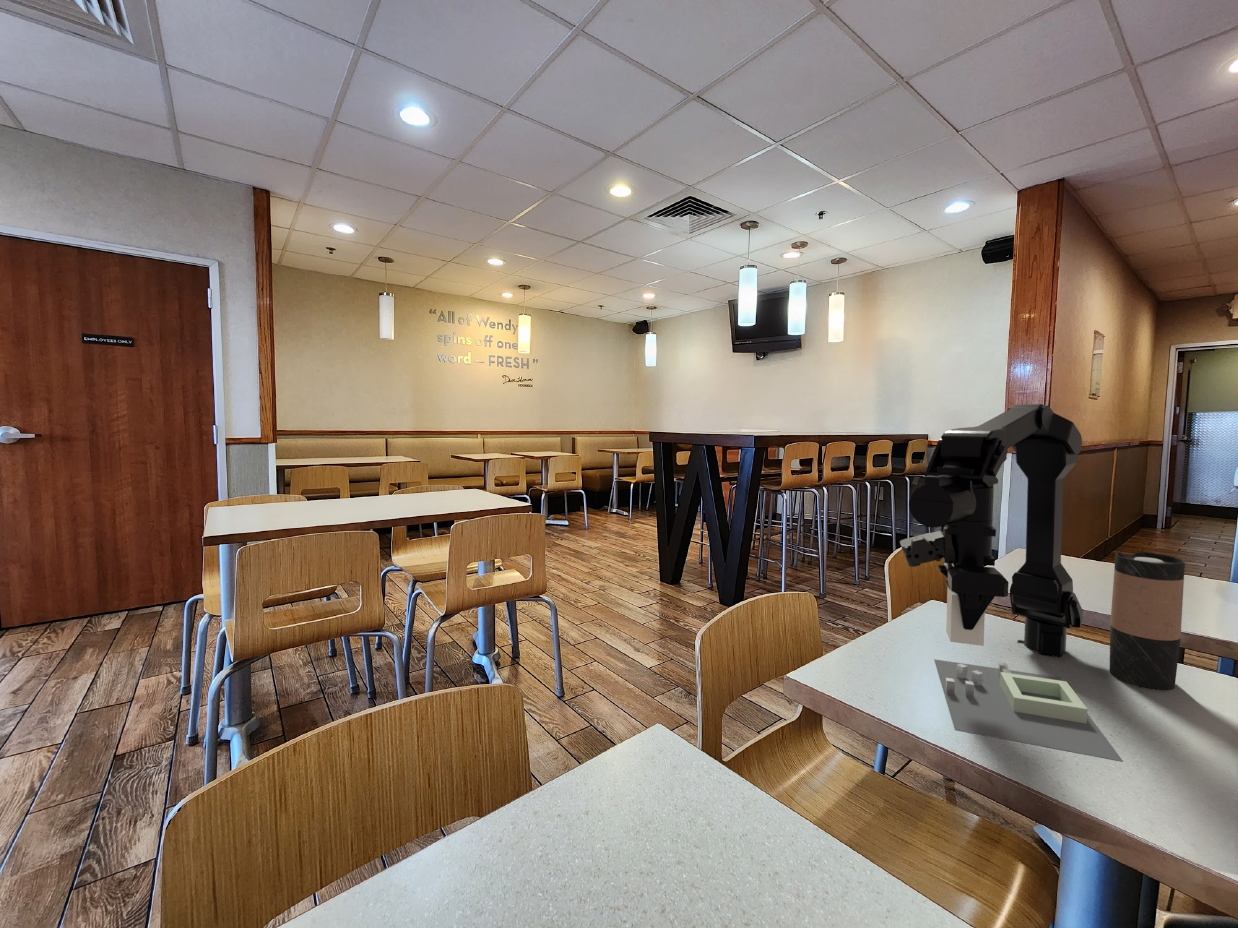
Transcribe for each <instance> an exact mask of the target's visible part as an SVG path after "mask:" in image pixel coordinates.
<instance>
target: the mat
mask: <svg viewBox="0 0 1238 928" xmlns="http://www.w3.org/2000/svg"><path fill="white" fill-rule="evenodd" d="M934 663H935V667H936V671H937V674H938V678H939V680H940V685H941V688H942V690H943V691H942V692H943V694H944V699H945V701H946V704H947V707H948V711H949V714H950V715H949V716H950V718H951V721H952V725H953V728H954V731H957V732H964V733H969V734H975V735H980V736H984V737H989V738H995V739H999V740H1005V741H1011V742H1017V743H1022V744H1027V745H1033V746H1039V747H1043V748H1047V749H1053V750H1060V751H1064V752H1070V753H1074V754H1080V755H1086V756H1092V757H1097V758H1101V759H1107V760H1113V761H1116V762H1117V761H1118V762H1124V760H1123V759H1122V757H1121V756H1120V755H1119V753H1118V752H1117V751H1116V749H1115V748H1114V747H1113V745H1112V744H1111V743H1110V741H1109V740H1108V739H1107V737H1106V736H1105V734H1104V733H1103V732H1102V731H1101V729H1100V728H1099V726H1098V725H1097V724H1096V723H1095V721H1094V720H1093V719H1092V718H1091V716H1090V715H1089V713H1088V712H1087V724H1086V723H1080V722H1074V721H1068V720H1062V719H1056V718H1050V717H1044V716H1038V715H1032V714H1027V713H1021V712H1015V711H1013V710H1012V708H1011V706H1010V704H1009V702H1008V700H1007V698H1006V696H1005V694H1004V692H1003V690H1002V688H1001V686H1000V677H999V675H998V667H992V666H983V665H976V664H970V663H964V662H956V661H955V662H954V661H947V660H943V659H942V660H941V659H935V658H934ZM958 664H964V665H966V666H968V670H967V679H964V680H962V679H960V678H958V677H957V665H958ZM975 670H977V671H980V672H982V673H983V684H982V686H980V687H977V686H975V685H974V698H970V697H966V696H965V694H964V693H965V681H972V671H975ZM1009 670H1010V671H1011V672H1012V674H1018V675H1025V676H1032V677H1039V678H1046V679H1053V680H1060V681H1064V680H1063V679H1062V677H1060V676H1053V675H1046V674H1039V673H1033V672H1025V671H1019V670H1011V669H1009ZM946 678H952V679H954V681H955V694H954V695H951V694H946ZM1020 692H1021V694H1022V695H1026V696H1032V697H1038V698H1045V699H1051V700H1057V701H1061V700H1060V699H1059V697H1055V696H1048V695H1042V694H1035V693H1029V692H1023V691H1020Z"/></svg>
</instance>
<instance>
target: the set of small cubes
mask: <svg viewBox="0 0 1238 928" xmlns="http://www.w3.org/2000/svg"><path fill="white" fill-rule="evenodd" d="M964 664H965V663H964ZM964 664H958V665H957V677H958V678H960V679H962V680H964V679H967V670H968V666H966V665H964ZM997 665H998V667H997V668H998V675H999V677H1000V672H1005V673H1011V674H1012V672H1011V671H1010V670H1011V669H1009V666H1008V663H1006V662H1002V661H1001V662H1000V661H999V662H998V664H997ZM982 684H983V673H982V672H980V671H977V670H975V671H972V681H965V693H964V694H965V696H966V697H970V698H974V685H975V686H977V687H980V686H982ZM946 694H951V695H954V694H955V681H954V679H952V678H946Z"/></svg>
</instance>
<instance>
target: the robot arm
mask: <svg viewBox="0 0 1238 928" xmlns="http://www.w3.org/2000/svg"><path fill="white" fill-rule="evenodd" d="M1082 447H1083V439H1082V434H1081V433H1080V431H1079V429H1078V427H1077V426H1076V424H1075V423H1074V422H1073V421H1071V420H1070V419H1068V418H1066V417H1063V416H1061V415H1060V414H1057V413H1055V412H1054V411H1053V409H1052V408H1051V407H1050V406H1049V405H1047V404H1044V403H1033V404H1032V403H1027V404H1025V403H1024V404H1014V405H1011V406H1008V407H1007V410H1006V411H1003V412H1002V413H1000V414H998V415H996V416H994V417H992V418H991V419H989V420H987V421H985V422H984V423H982V424H978V425H977V426H970V427H966V426H965V427H958V428H951V429H948V430H947V429H946V431H945V432H943V434H942V435H941V436H940V438H939V439H938V440H937V442H936V445H935V448H934V450H933V452H932V455H931V457H930V460H929V463H928V465H927V467H926V470H925V473H924V484H923V485H921V486H919V487H917V488H916V489H915V490H914V491H913V492H912V494H911V496H910V498H909V500H908V502H909V503H908V506H909V507H908V508H909V511H910V513H911V515H912V517H913V518H914V519H915V521H916V522H917V523H919V524H920V525H922V526H925V527H927V528H933V529H934V528H939V530H937V531H934V532H928V533H924V534H923V533H922V534H919V535H915V536H912V537H907V538H904V539H901V540H900V541H899V544H900V546H901V547H900V548H901V550H902V552H903V555H904V557H905V560H906V562H907V563H906V564H907V565H908V567H909V568H913V567H914V568H915V567H919V566H921V565H922V564H926V563H931V562H941V560H942V559H943V564H941V565H940V564H939V565H937V568H938V570H939V572H940V573H941V574H942V575H944V577H945V578H946V579H947V580H945V584H946V586H947V587H949V588H950V589H951V591H953V592H955V593H956V594H957V596H958V602H959V607H960V613H961V619H962V624H963V628H964V629H966V630H973V628H974V627H975V625H976V624H977V622H978V621H979V619H980V618H981V616H982V614H983V613H984V611H985V612H986V609H988V607H989V606H990V605H991V603H992V601H993V600H994V598H995V597H997V598H998V597H999V598H1007V597H1009V599H1010V605H1011V612H1012V615H1015V616H1021V617H1025V618H1024V634H1023V635H1024V638H1023V640H1022V639H1018V640H1017V644H1023V645H1024V646H1025V648H1027V649H1029V650H1031V651H1033V652H1036V653H1037V654H1039V655H1041V656H1044V657H1045V656H1046V657H1051V658H1057V659H1061V658H1062V656H1063V655H1065V654H1066V649H1067V629H1070V630H1072V629H1073V628H1078V629H1079V628H1082V625H1083V624H1082V623H1083V618H1084V617H1083V614H1084V610H1083V608H1082V605H1081V603H1080V602H1079V600H1078V597H1077V595H1076V593H1075V592H1074V585H1073V581H1074V580H1073V579H1072V577H1071V575H1070V574H1069V573H1068V571H1067V569H1066V568H1065V567H1064V566H1063V564H1062V537H1063V536H1062V535H1063V511H1064V510H1063V505H1064V504H1063V503H1064V501H1063V500H1064V482H1065V481H1064V480H1065V479H1064V478H1065V477H1066V476H1067V475H1068V474H1069V473H1070V472H1071V470H1072V469H1073V468H1074V466H1076V464H1077V462H1078V455H1079V454H1080V453H1081V451H1082ZM1010 448H1012V450H1013V451H1014V452H1015V462H1016V465H1017V466H1018V467H1019V469H1020V470H1021V471H1022V473H1023V474H1024V476H1025V477H1026V478H1027V490H1026V492H1027V493H1026V495H1027V497H1026V498H1027V499H1026V528H1025V529H1026V530H1025V532H1026V533H1025V534H1026V535H1025V536H1026V537H1025V562H1024V563H1023V565H1022V566H1021V567H1019V569H1018V570H1017V571H1016V572H1014V573H1013V574H1012V576H1011V584H1010V588H1009V581H1008V579H1006V577H1005V576H1004V575H1003V574H1002V573H1001V572H1000V571H999V570H998V569H996V568H995V567H994V566H995V565H996V564H995V563H996V558H995V557H994V556H993V555H992V548H993V546H992V545H993V537H997V536H996V535H997V534H996V533H997V529H996V528H995V527H994V526H993V520H994V519H993V518H994V516H993V514H994V487H995V486H994V485H997V484H999V479H998V478H997V475H998V473H999V472H1000V469H1001V467H1002V465H1003V463H1005V462H1006V461H1007V459H1008V450H1009V449H1010Z"/></svg>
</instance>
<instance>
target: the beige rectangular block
mask: <svg viewBox="0 0 1238 928" xmlns="http://www.w3.org/2000/svg"><path fill="white" fill-rule="evenodd" d="M946 593H947V594H946V595H947V596H946V626H945V627H946V630H945V631H946V634H947V637H948V639H949V641H950V643H958V644H966V645H972V646H973V645H974V646H983V647H984V645H985V621H986V620H985V619H986V618H985V615H986V614H985V613H986V610H985V611H984V613H983V614H982V616H981V618H980V619H979V621H978V622H977V624H976V625H975V627H974V628H973V630H966V629H964V628H963V624H962V619H961V613H960V607H959V602H958V596H957V594H956V593H955V592H953V591H951V589H950V588H949V587H948V586H947V591H946Z"/></svg>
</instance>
